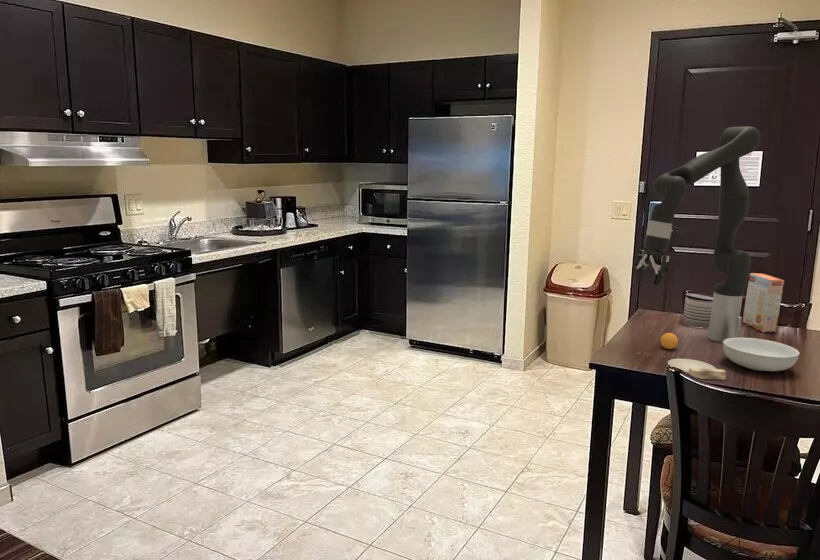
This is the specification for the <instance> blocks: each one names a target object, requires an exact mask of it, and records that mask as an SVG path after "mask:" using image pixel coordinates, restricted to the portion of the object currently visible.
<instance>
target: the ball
mask: <svg viewBox="0 0 820 560" xmlns="http://www.w3.org/2000/svg"><path fill="white" fill-rule="evenodd" d="M660 343H661V346H662V347H663V348H665V349H667V350H673V349H674V348H676V347H677V346H678V344H679V339H678V337H677V336H676V334H674V333H672V332H666V333H664V334H663V335H661V338H660Z"/></svg>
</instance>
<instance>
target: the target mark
mask: <svg viewBox="0 0 820 560" xmlns="http://www.w3.org/2000/svg"><path fill="white" fill-rule="evenodd" d="M669 365H670V366H669ZM667 366H669V367H671V368H672V367H676V368H679V369H681V370H683V371H684V372H683V371H682V372H683V373H688V374H689V368H696V369H717V368H716V367H715V366H714V365H713V364H710V363H708V362H705V361H701V360H697V359H689V358H672V359H669V360H668V361H667Z"/></svg>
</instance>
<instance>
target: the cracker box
mask: <svg viewBox="0 0 820 560" xmlns="http://www.w3.org/2000/svg"><path fill="white" fill-rule="evenodd" d="M784 284H785V280H784V279H781V278H778V277H775V276H772V275H769V274H766V273H756V272H751V273H750V272H749V277H748V282H747V289H746V297H745V303H744V308H743V314H742V316H743V317H742V320H741V323H742V322H743V323H747V324H750V325H752V326H753V327H755V328H757V329H759V330H761V331H776V332H777V327H778V321H779V314H780V309H781V304H782V303H781V302H782V296H783V290H784ZM743 323H742V324H743Z"/></svg>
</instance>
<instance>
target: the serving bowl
mask: <svg viewBox="0 0 820 560" xmlns="http://www.w3.org/2000/svg"><path fill="white" fill-rule="evenodd" d="M722 348H723V353H724V354H725V356H726V357H727V358H728V359H729V360H730V361H731V362H733V363H735V364H737V365H738V366H741V367H744V368H745V367H746V369H748V368H749V369H748V370H751V369H752V371H756V370H758V371H757V372H762V371H770V372H780V371H785V370H788V369H790V368H791V367H793V366H794V365H795V364H796V363H797V361H798V359H799V356H800V352H799V350H798V349H796V348H794V347H793V346H790V345H788V344H786V343H780V342H778V341H773V340H768V339H762V338H755V337H739V338H728V339H725V340H724V341H723V343H722Z"/></svg>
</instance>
